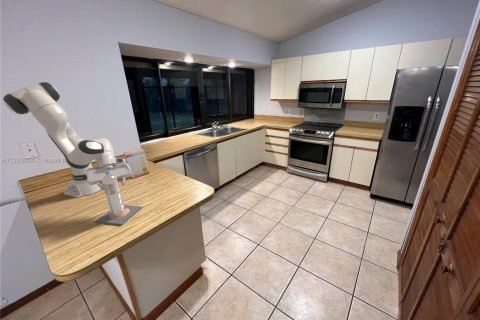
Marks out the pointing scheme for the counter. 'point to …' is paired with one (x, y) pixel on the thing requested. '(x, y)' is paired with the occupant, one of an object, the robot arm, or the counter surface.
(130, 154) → the cracker box
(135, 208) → the spot mat
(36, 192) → the counter surface
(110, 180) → the water bottle
